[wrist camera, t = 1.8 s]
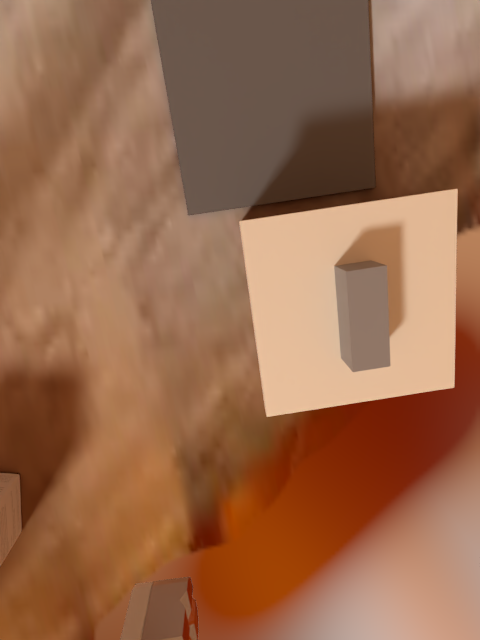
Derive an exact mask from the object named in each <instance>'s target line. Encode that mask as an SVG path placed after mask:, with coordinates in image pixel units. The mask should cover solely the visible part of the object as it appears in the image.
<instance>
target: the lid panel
mask: <svg viewBox="0 0 480 640" xmlns="http://www.w3.org/2000/svg"><path fill="white" fill-rule="evenodd" d="M457 197H458V189H450V190H443V191H436V192H429V193H423V194H416V195H409V196H403V197H396V198H389V199H383V200H376V201H369V202H362V203H356V204H349V205H342V206H336V207H329V208H322V209H316V210H309V211H302V212H296V213H289V214H282V215H275V216H269V217H262V218H255V219H249V220H242V221H239V225H240V233H241V240H242V247H243V254H244V261H245V269H246V276H247V283H248V290H249V297H250V304H251V312H252V319H253V326H254V333H255V340H256V348H257V355H258V362H259V369H260V376H261V383H262V391H263V398H264V405H265V411H266V415H267V417H269V416H275V415H282V414H288V413H295V412H301V411H307V410H314V409H320V408H326V407H333V406H339V405H345V404H352V403H358V402H364V401H371V400H377V399H384V398H390V397H396V396H402V395H409V394H415V393H422V392H428V391H434V390H440V389H447V388H454V377H455V375H454V374H455V315H456V314H455V313H456V257H457V255H456V254H457Z"/></svg>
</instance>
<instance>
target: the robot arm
mask: <svg viewBox="0 0 480 640" xmlns="http://www.w3.org/2000/svg"><path fill="white" fill-rule="evenodd" d="M192 593H193V585H192V581H191V578H190V577H184V578H176V579H167V580H159V581H153V582H145V583H137V584H135V586H134V588H133V590H132V594H131V598H130V602H129V606H128V610H127V614H126V618H125V622H124V626H123V630H122V634H121V638H120V640H198V632H199V627H198V610H197V604H196V600H195V599H194V598H193V597H192Z"/></svg>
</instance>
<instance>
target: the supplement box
mask: <svg viewBox="0 0 480 640" xmlns="http://www.w3.org/2000/svg"><path fill="white" fill-rule="evenodd" d="M21 532H22V523H21V494H20V475H19V474H11V473H0V566H1V565H2V563H3V561H4V560H5V558H6V556H7V555H8V553H9V551H10V550H11V548H12V547H13V545H14V543H15V542H16V540H17V538H18V537H19V535H20V533H21Z"/></svg>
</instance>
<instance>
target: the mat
mask: <svg viewBox="0 0 480 640" xmlns="http://www.w3.org/2000/svg"><path fill="white" fill-rule="evenodd" d="M151 4H152V10H153V16H154V21H155V27H156V33H157V39H158V44H159V50H160V56H161V62H162V67H163V73H164V79H165V84H166V90H167V96H168V102H169V107H170V113H171V119H172V125H173V130H174V136H175V142H176V147H177V153H178V159H179V165H180V170H181V176H182V182H183V188H184V193H185V199H186V205H187V210H188V215H194V214H201V213H208V212H214V211H221V210H228V209H234V208H241V207H248V206H255V205H261V204H268V203H275V202H281V201H288V200H295V199H302V198H308V197H315V196H322V195H328V194H335V193H342V192H349V191H355V190H362V189H369V188H375V187H376V183H375V158H374V133H373V109H372V84H371V59H370V35H369V10H368V0H151Z"/></svg>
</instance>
